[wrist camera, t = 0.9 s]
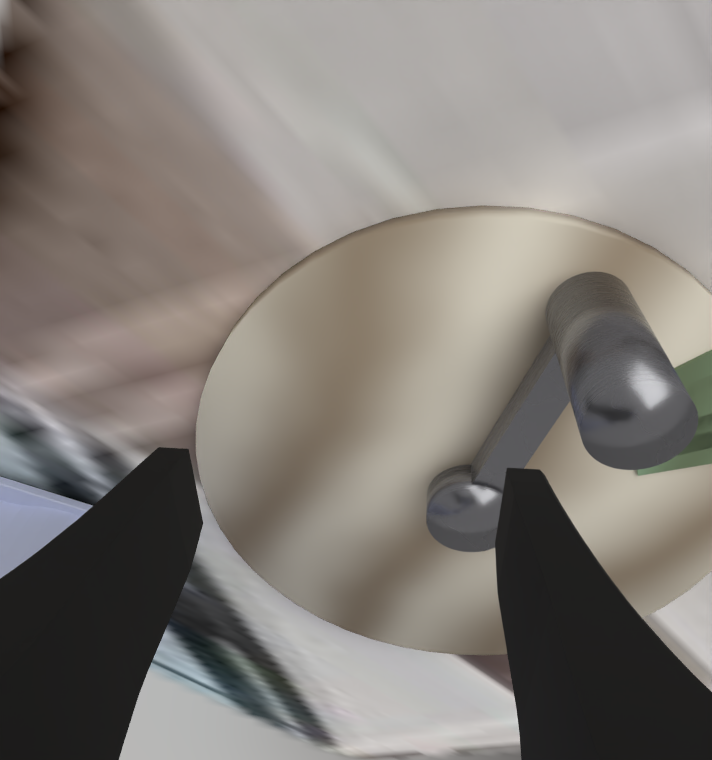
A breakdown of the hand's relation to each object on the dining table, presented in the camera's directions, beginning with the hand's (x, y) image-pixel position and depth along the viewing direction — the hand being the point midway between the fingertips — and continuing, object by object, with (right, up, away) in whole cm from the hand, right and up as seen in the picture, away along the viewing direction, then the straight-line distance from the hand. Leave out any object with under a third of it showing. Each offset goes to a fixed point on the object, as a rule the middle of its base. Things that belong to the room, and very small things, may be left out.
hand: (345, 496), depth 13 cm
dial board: (+4, -1, +11) cm, 12 cm away
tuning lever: (+5, +1, +8) cm, 10 cm away
